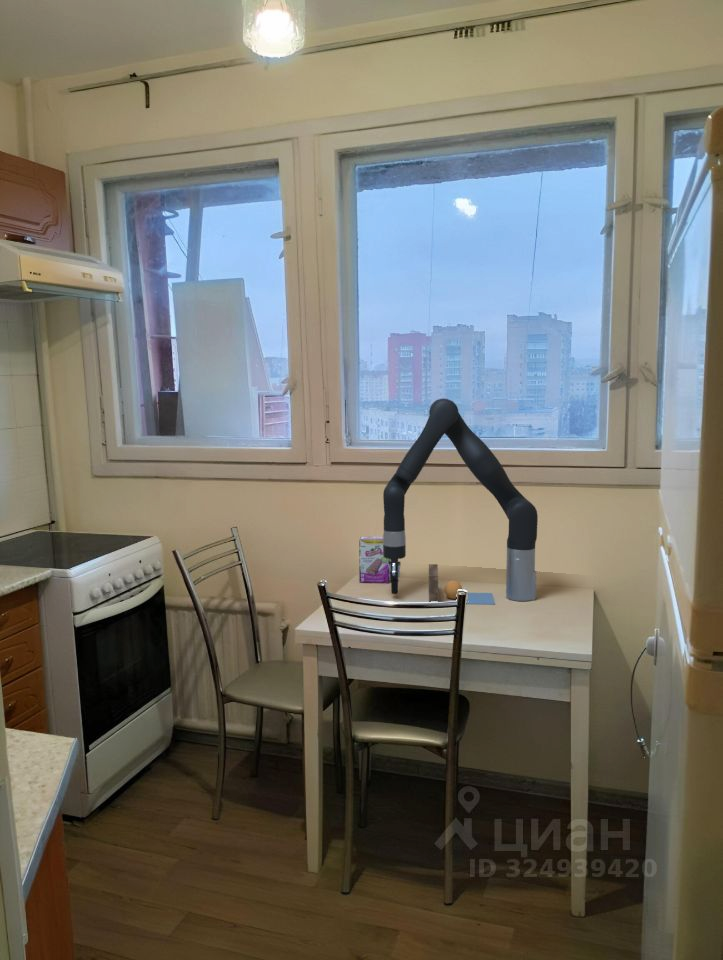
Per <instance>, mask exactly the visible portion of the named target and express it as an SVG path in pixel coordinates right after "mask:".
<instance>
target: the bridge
mask: <svg viewBox="0 0 723 960" xmlns="http://www.w3.org/2000/svg"><path fill="white" fill-rule="evenodd" d="M438 567H439V565H438V564H437V563H435V564H433V563H432V564H431V563H430V564H428V603H429V602H431V601H438V602H439V568H438Z"/></svg>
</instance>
